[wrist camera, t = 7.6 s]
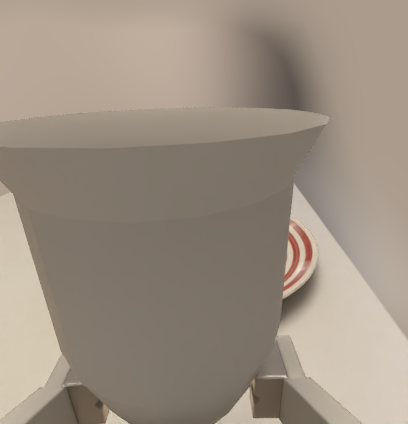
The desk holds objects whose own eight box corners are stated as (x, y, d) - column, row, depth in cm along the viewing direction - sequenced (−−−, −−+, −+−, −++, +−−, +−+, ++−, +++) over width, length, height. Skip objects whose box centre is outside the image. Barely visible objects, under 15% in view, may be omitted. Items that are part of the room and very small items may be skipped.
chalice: (305, 615, 11) (445, 123, 4) (121, 730, 9) (-230, 180, 2) (230, 422, 17) (233, 104, 10) (113, 465, 16) (21, 114, 9)
